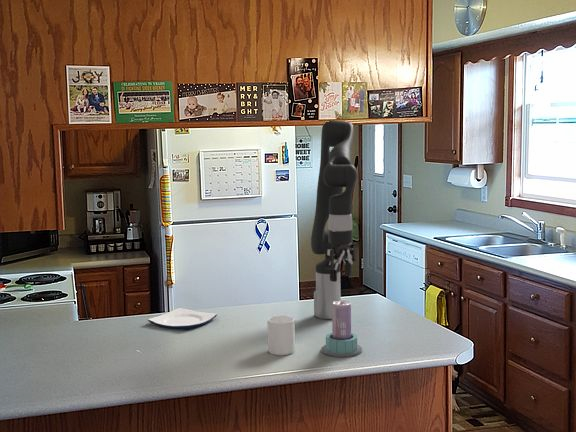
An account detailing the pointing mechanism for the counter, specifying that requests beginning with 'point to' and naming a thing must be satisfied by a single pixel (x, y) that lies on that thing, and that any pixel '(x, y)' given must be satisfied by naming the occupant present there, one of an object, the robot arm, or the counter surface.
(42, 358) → the counter surface
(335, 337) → the beverage can
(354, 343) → the holder
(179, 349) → the counter surface
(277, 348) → the mug
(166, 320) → the plate
